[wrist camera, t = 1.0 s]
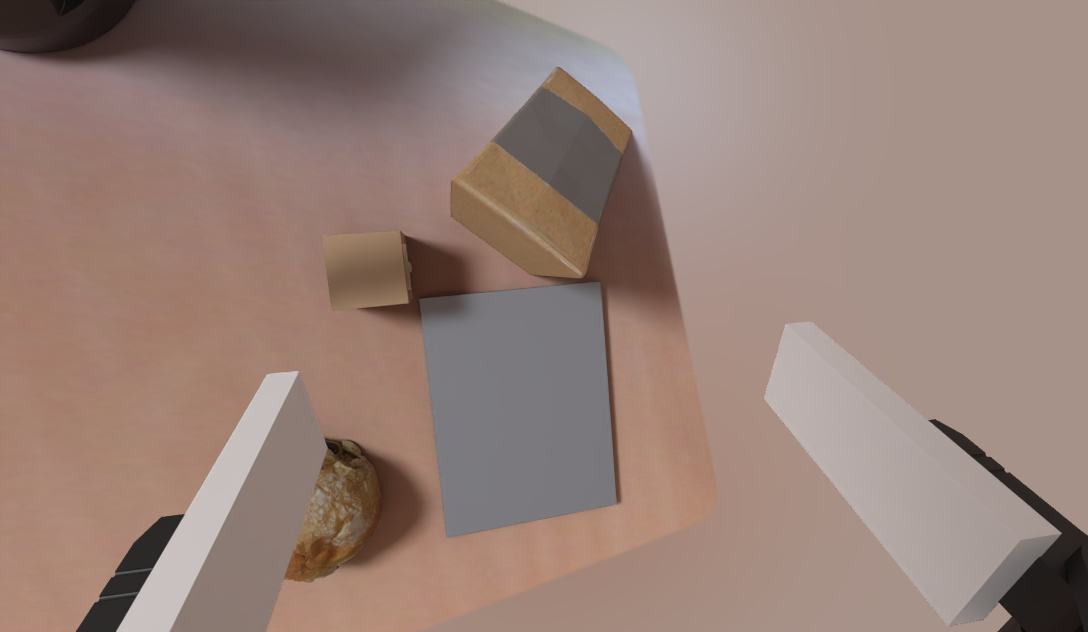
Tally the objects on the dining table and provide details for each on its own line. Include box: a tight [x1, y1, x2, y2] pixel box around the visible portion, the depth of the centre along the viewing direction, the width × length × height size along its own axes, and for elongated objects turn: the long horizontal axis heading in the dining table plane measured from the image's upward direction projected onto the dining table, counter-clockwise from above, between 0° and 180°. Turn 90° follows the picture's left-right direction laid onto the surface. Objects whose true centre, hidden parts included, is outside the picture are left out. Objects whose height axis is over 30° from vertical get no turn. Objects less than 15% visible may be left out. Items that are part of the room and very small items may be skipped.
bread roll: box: [284, 440, 382, 582], centre depth 35 cm, size 10×10×8 cm
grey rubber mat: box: [419, 281, 617, 538], centre depth 40 cm, size 20×15×1 cm
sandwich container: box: [450, 67, 632, 278], centre depth 31 cm, size 9×15×15 cm, turn 144°
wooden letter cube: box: [322, 231, 413, 311], centre depth 34 cm, size 5×5×5 cm
